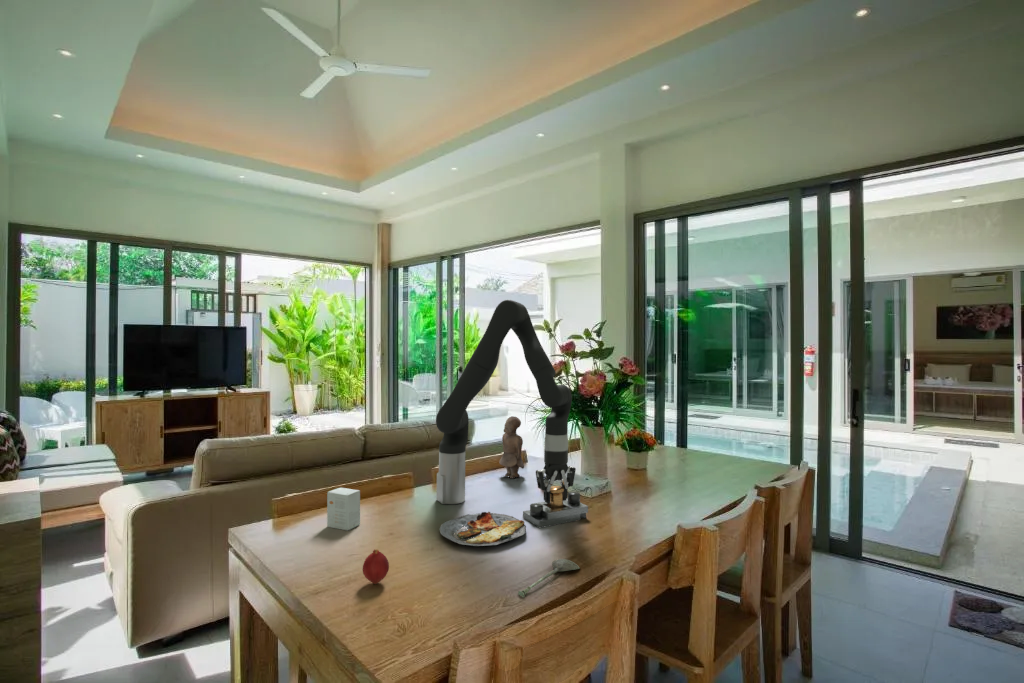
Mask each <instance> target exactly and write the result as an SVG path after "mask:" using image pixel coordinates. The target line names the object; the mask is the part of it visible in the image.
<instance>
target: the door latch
mask: <svg viewBox="0 0 1024 683" xmlns="http://www.w3.org/2000/svg"><path fill="white" fill-rule="evenodd" d="M587 513H589V506H588V505H586V504H584V503H582V502H581V493H580V492H579V491H568V492H567V498H566V500H565V501H563V508H560V509H554V510H552V509H551V504H550V503H546V502H545V501H540V502H534V503H530V505H529V510H523V511H522V518H523V519H524V518H525V520H526V521H528V522H530V523H531V524H532V523H533V524H532V525H534V526H535V525H536V526H535V527H537V526H538V527H537V528H539V527H541V528H545V527H544V526H546V527H550V526H549V525H552V526H556V525H555V524H557V525H560V524H561V523H562V524H567V523H566V522H568V523H572V522H571V521H573V522H577V521H576V520H579V521H580V520H581V519H580V518H583V519H587ZM562 524H561V525H562Z"/></svg>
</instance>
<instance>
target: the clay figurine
mask: <svg viewBox="0 0 1024 683" xmlns="http://www.w3.org/2000/svg"><path fill="white" fill-rule="evenodd" d="M521 425H522V422H521V420H520V418H519V417H517V416H509V417H508V418H507V419H506V421H505V424H504V427H503V428H504V429H503V434H502V450H503V454H502V456H501V458H500V459H499V461H498V463H499V465H501V466H502V467H505V469H506V473H505V475H504V476H509V477H510V478H509V479H516V478H519V477H520V476H521V475H520V474H519V473H518V472H519V469H520V468H521V469H524V468H525V464H524V461H523V458H522V448H523V444H524V443H523V442H524V440H523V438H522V436H520V434H519V435H518V433H517V430H518V429H519V428H520V427H521ZM515 477H516V478H515Z"/></svg>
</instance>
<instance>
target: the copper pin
mask: <svg viewBox="0 0 1024 683" xmlns="http://www.w3.org/2000/svg"><path fill="white" fill-rule="evenodd" d="M562 492H564V487H562V486H561V485H552V486H551V488H550V504H551V509H552V510H554V509H560V508H563V496H562Z"/></svg>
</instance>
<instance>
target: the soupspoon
mask: <svg viewBox="0 0 1024 683" xmlns="http://www.w3.org/2000/svg"><path fill="white" fill-rule="evenodd" d="M551 565H552V568H553V570H551V571H549V572H547V573H546V574H545V575H542V577H540V578H539V579H538V580H536V581H535V582H533V583H532V584H531V585H530V586H529V585H528V586H527V587H526V588H525V589H523V590H519V591H518V593H517V594H518V596H519V595H520V597H521V596H522V597H521V598H525V596H526V595H527V594H528V592H529V591H531V589H533V588H535V587H536V586H537V585H539V584H540V583H541V582H543V581H545V580H546V579H547V578H549V577H550V576H552V575H554V574H556V573H558V572H566V571H574V570H579V569H580V566H579V565H578V564H577V563H575V562H574V561H572V560H570V559H566V558H558V559H556V560H554V561H552V563H551ZM524 595H525V596H524Z"/></svg>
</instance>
